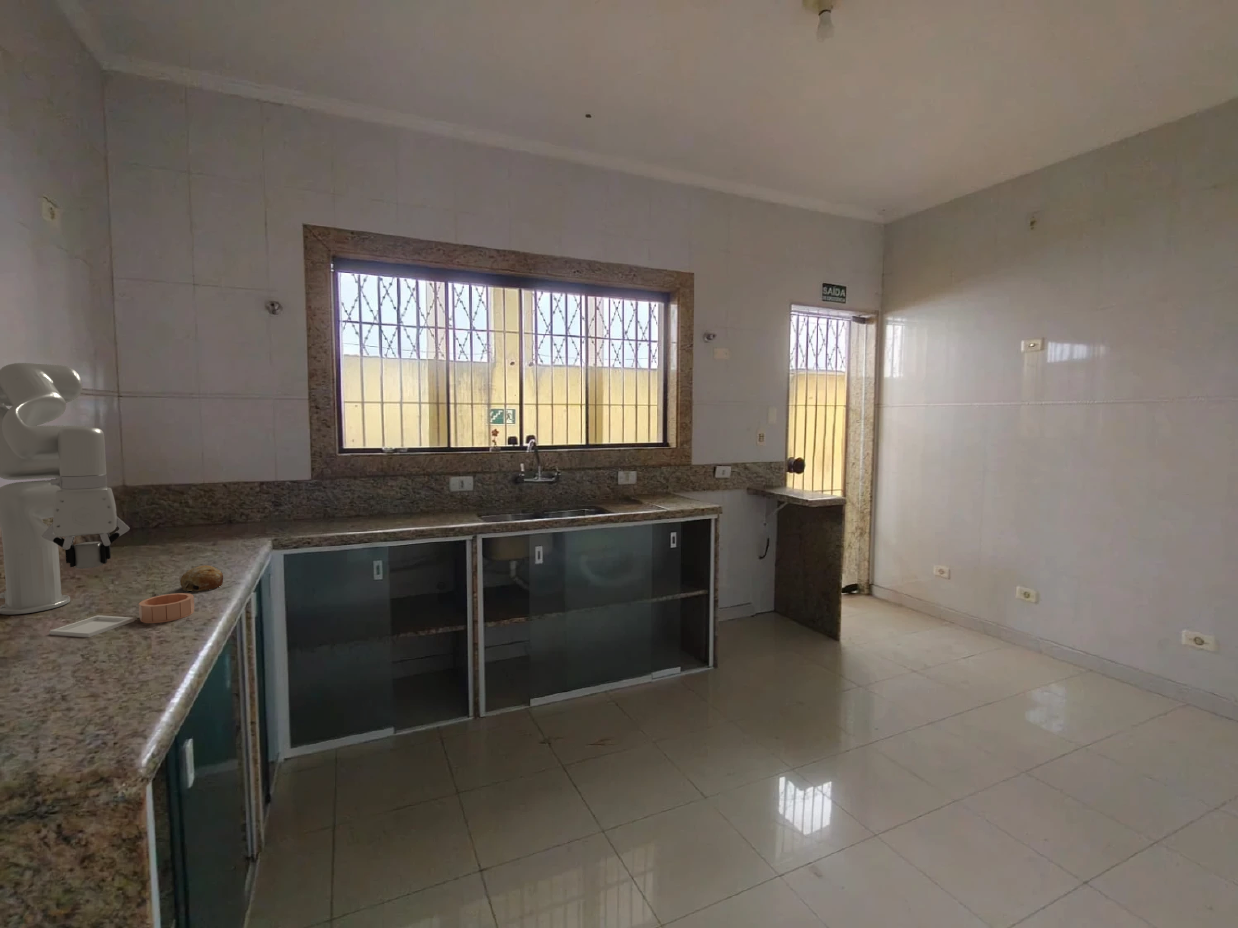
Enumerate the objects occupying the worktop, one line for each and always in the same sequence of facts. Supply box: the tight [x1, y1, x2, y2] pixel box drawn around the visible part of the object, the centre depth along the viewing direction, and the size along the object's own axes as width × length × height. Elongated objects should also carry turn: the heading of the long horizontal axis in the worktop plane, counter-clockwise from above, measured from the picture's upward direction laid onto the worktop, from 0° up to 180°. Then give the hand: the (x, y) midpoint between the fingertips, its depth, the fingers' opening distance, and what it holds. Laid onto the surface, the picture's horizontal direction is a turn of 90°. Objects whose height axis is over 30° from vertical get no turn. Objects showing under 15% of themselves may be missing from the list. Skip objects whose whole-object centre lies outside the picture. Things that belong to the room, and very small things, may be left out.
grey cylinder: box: [73, 541, 104, 570], centre depth 126 cm, size 4×4×5 cm
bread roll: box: [179, 564, 224, 592], centre depth 160 cm, size 10×10×8 cm
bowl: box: [138, 592, 195, 624], centre depth 136 cm, size 10×10×4 cm
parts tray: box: [49, 614, 136, 638], centre depth 128 cm, size 10×10×1 cm
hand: (89, 563), depth 127 cm, fingers closed on grey cylinder, 4 cm apart
